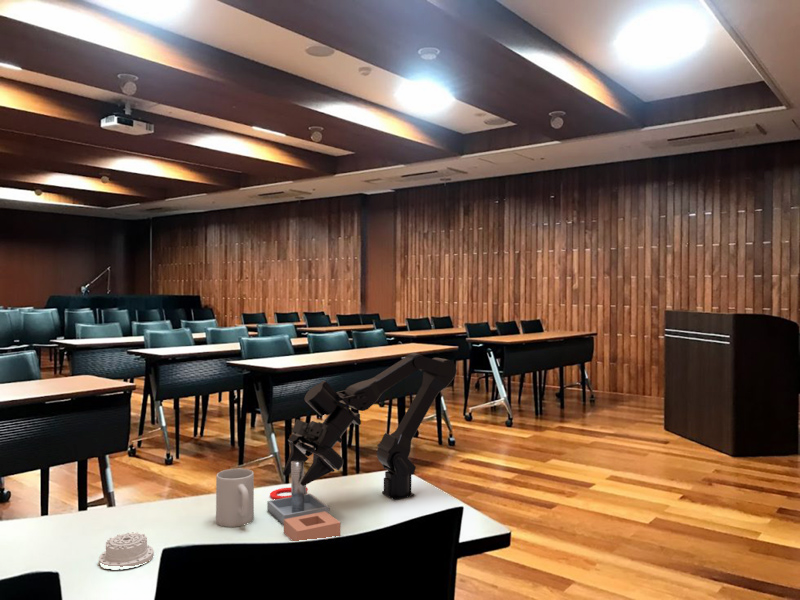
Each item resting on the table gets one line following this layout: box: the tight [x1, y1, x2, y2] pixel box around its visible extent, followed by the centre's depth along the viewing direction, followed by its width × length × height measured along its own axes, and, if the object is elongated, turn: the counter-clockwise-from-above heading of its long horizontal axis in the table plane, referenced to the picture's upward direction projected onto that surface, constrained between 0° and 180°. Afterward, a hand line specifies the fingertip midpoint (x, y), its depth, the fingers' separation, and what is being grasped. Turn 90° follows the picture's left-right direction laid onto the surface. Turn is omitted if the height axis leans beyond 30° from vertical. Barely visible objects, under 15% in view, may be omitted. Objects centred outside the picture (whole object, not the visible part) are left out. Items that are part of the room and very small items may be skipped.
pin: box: [290, 460, 305, 513], centre depth 152 cm, size 3×3×12 cm
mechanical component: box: [98, 532, 155, 567], centre depth 126 cm, size 10×4×10 cm
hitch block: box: [283, 511, 341, 542], centre depth 139 cm, size 10×8×3 cm
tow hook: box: [269, 485, 309, 500], centre depth 165 cm, size 8×13×9 cm
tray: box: [266, 493, 330, 527], centre depth 151 cm, size 11×11×2 cm
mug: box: [215, 468, 255, 528], centre depth 146 cm, size 12×8×11 cm
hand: (292, 479), depth 151 cm, fingers open, 9 cm apart
